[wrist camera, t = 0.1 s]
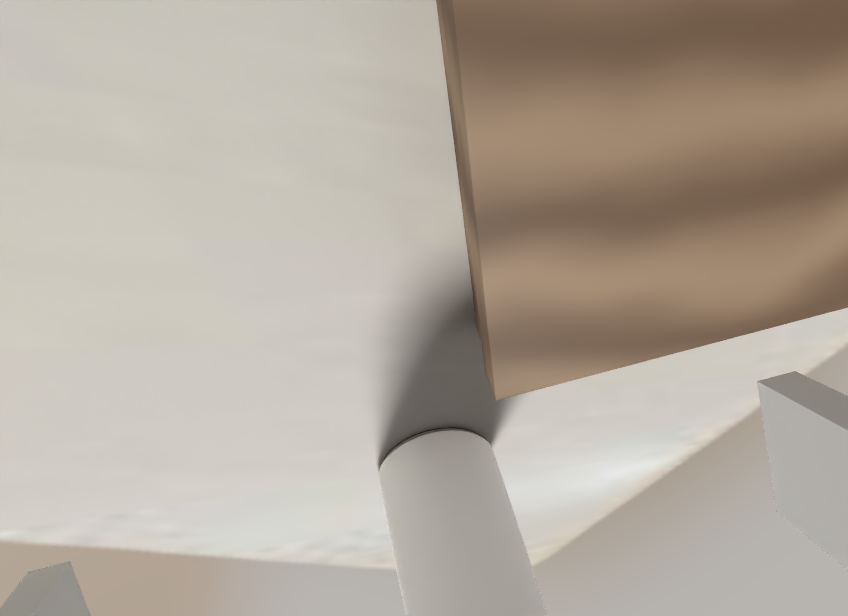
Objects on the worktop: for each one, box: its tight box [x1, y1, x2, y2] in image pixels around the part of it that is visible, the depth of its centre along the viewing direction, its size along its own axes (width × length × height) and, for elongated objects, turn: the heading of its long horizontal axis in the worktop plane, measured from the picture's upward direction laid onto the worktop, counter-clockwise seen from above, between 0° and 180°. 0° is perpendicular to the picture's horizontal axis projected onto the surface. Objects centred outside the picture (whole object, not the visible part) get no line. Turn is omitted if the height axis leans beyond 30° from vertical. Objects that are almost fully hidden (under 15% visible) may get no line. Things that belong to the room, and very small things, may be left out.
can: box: [379, 428, 547, 616], centre depth 37 cm, size 6×6×12 cm
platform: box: [436, 0, 848, 400], centre depth 26 cm, size 18×16×4 cm
